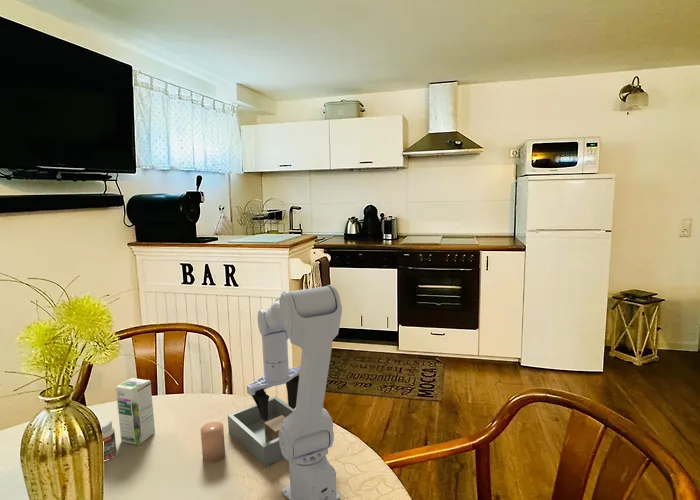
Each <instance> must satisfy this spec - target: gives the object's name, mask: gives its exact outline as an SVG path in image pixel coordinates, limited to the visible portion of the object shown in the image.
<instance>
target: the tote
mask: <svg viewBox="0 0 700 500" xmlns="http://www.w3.org/2000/svg"><path fill="white" fill-rule="evenodd" d="M295 409H296V408H295ZM295 409H292V408H291V407H289V405H288V402H287V403H286V402H285V401H284V400H282V399H281V398H280V397H278V396H277V395H275V396H272V397H269V400H268V420H267V421H270V420H272V419H274V418H277V417H279V416H281V415H283V416H284V417H287V416H288V415H290V414H291V413H292V412H293V411H294V410H295ZM267 421H264V420H263V419H262V418H261V416H260V412H259V409H258V407H257V405H256V403H255V404H251V405H250V406H246V407H244V408H242V409H240V410H237V411H234V412H231V413H229V414H227V425H228V435H230V436H231V437H232V438H233V439H234V440H235V441H236V442H237V443H238V444H239V445H241V446H242V447H243V449H244V450H245V451H247V452H248V453H249V454H250V455H251V456H252V457H253V458H254V459H255V460H256V461H257V462H258V463H259V464H261V465H260V466H263V468H268V467H270V466H271V465H274V464H275V463H279V462H280V461H282V460H283V459H285V458H284V456H283V454H282V452H281V449H280V444H279V437H278V438H276V439H274V440H272V441H270V442H268V443H266V442H265V425H264V423H265V422H267Z"/></svg>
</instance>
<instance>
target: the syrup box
mask: <svg viewBox="0 0 700 500" xmlns="http://www.w3.org/2000/svg"><path fill="white" fill-rule="evenodd" d="M115 394H116V403H117V412H118V421H119V432H120V442H121V441H123V442H122V443H128V444H133V445H137V446H140V445H142V444H143V443H144V442H145V441H146V440H148V439H149V438H150V437H152V436H153V435H154V434H155V433H156V428H155V415H154V406H153V405H154V404H153V396H152V384H151V380H150V379H142V378H135V377H131V378H129V379H127V380H125V381H123V382H121V383H120V384H118V385H117V386H115Z"/></svg>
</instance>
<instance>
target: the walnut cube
mask: <svg viewBox="0 0 700 500" xmlns="http://www.w3.org/2000/svg"><path fill="white" fill-rule="evenodd" d="M285 418H286V417H284V416H283V415H281V416H279V417H277V418H274V419H272V420H270V421H267V422H265V423H264V425H265V442H266V443H268V442H270V441H272V440H274V439H276V438H278V437H279V431H280V428H281V427H282V424H283V420H284V419H285Z"/></svg>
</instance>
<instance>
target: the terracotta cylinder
mask: <svg viewBox="0 0 700 500" xmlns="http://www.w3.org/2000/svg"><path fill="white" fill-rule="evenodd" d="M224 431H225V430H224V424H223V423H222V422H220V421H211V422H207V423H206V424H204V425H202V426H201V427H200V439H201V451H202V452H201V453H202V460H203V461H204V462H205V463H216V462H218V461H221V460H222V459H223V458H224V457H225V456H226V446H225V432H224Z"/></svg>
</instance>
